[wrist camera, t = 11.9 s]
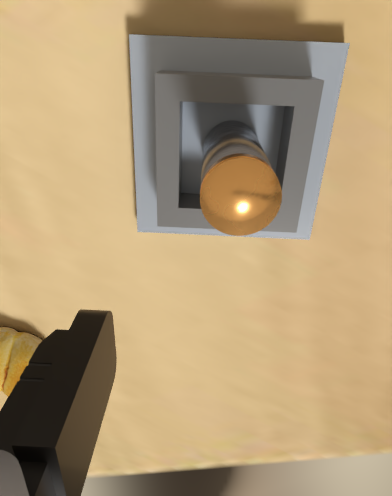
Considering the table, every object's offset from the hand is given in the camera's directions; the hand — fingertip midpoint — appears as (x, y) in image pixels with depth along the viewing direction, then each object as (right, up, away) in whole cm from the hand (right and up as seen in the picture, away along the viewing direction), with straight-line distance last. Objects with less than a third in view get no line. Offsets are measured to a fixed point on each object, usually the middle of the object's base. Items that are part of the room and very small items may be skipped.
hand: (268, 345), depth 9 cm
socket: (+1, +10, +19) cm, 21 cm away
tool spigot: (+1, +10, +18) cm, 20 cm away
